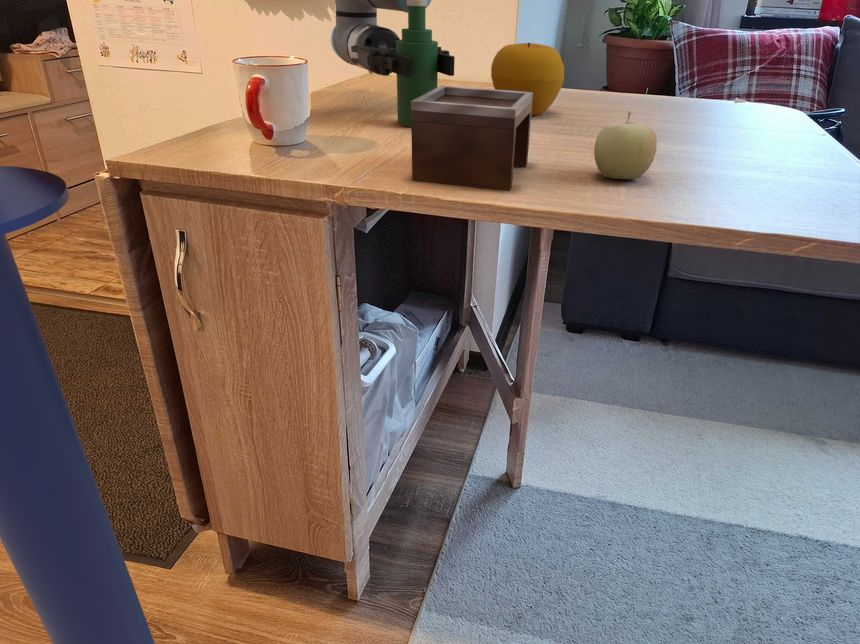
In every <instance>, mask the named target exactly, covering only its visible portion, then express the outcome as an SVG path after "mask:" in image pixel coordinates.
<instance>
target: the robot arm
mask: <svg viewBox="0 0 860 644" xmlns="http://www.w3.org/2000/svg"><path fill="white" fill-rule="evenodd" d="M432 1H433V0H427V6H425V10H426V9H427V8H429V6H430V4H431V3H432ZM334 3H335V4H334V5H335V25H334V27H333V29H332V31H331V35H330V44H331V47H332V50H333V51H334V53H335V54H336V56H338V58H340V59H341V60H342V61H343V62H345V63H347V64H349V65H351V66H356V67H358V68H361V69H364V70H367V71H368V74H369V75H372V74H375V75H379V76H383V77H385V76H388V77H389V76H390V74H392V73H393V74H396V75H397V74H398V75H401V76H404V77H406V78H409V77H411V57H408V56H405V55H401V54H398V53H396V40H401V39H400V37H399V35H398V34H397V33H396V32H395V31H393V29H391V28H388V27H385V26H381V25H378V19H377V17H378V10H379V9H380V10H386V11H387V10H389V11H395V12H403V13H407V14H408V5H407V0H334ZM377 9H378V10H377ZM455 60H456V59H455V55H450V51H449V50H448V49H442V46H438V73H440V74H443V75H444V76H445V75H446V76H449V77H454V76H455Z"/></svg>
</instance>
